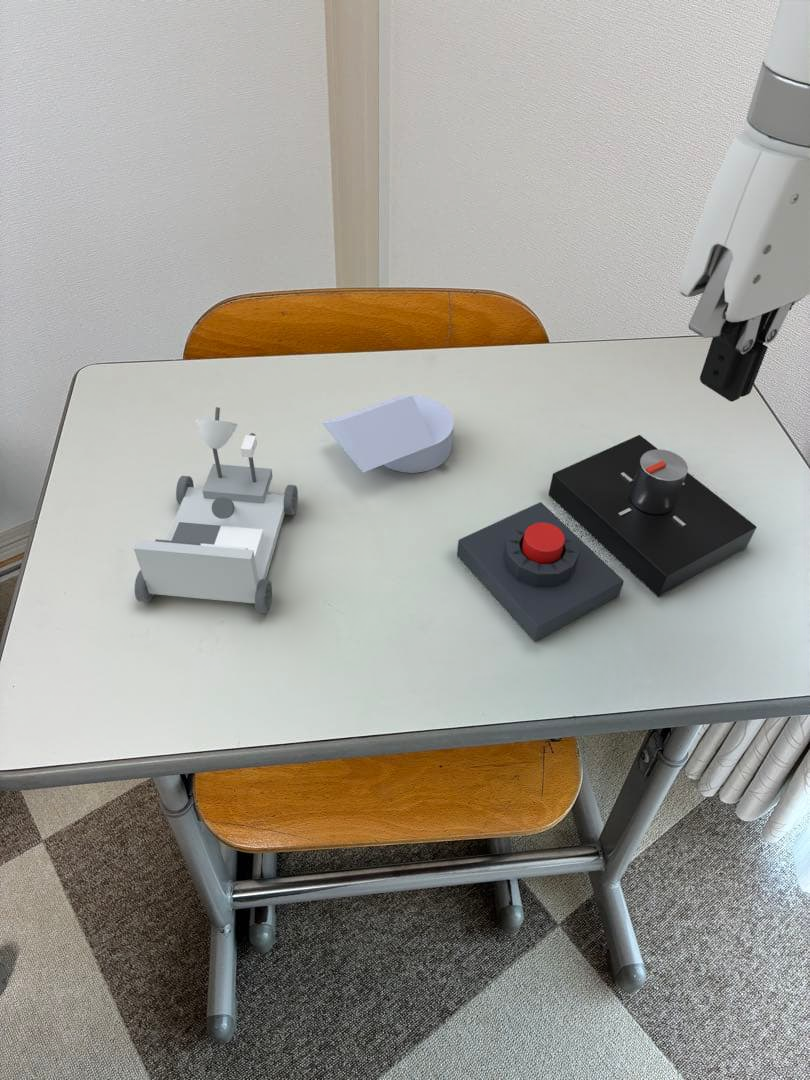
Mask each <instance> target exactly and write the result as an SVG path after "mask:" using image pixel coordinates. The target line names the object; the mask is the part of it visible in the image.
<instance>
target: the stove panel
mask: <svg viewBox="0 0 810 1080" xmlns="http://www.w3.org/2000/svg"><path fill="white" fill-rule="evenodd" d="M657 449H658V448H657V447H656V446H655V445H653V444H652V443H651V442H650V441H648V440H647V439H646V438H645V437H643V436H642V435H641V434H638V435H636V436H633V437H631V438H629V439H627V440H624V441H622V442H620V443H617V444H615V445H614V446H611V447H609V448H607V449H604V450H602V451H600V452H598V453H595V454H593V455H591V456H589V457H587V458H584V459H582V460H580V461H577V462H576V463H573V464H571V465H569V466H568V465H567V466H566V467H564V468H561V469H560V470H557V471H555V472H553V473H552V476H551V481H550V485H549V489H548V496H549V497H550V498H552V500H553V501H555V502H556V503H557V504H558V505H559V507H561V508H562V509H563V510H564V511H565V512H566V513H567V514H569V516H571V517H572V519H574V520H575V521H576V522H577V523H578V524H579V525H580V526H581V527H583V529H584V530H586V531H587V532H588V534H590V535H591V536H592V537H593V538H594V539H595V540H596V541H597V542H598V543H600V545H602V547H604V548H605V549H606V550H607V551H608V552H609V553H610V554H611V555H612V556H613V557H615V559H617V560H618V561H619V562H620V564H622V565H623V566H624V567H625V568H626V569H627V570H629V572H631V573H632V574H633V575H634V576H635V577H636V578H637V579H638V580H639V581H641V583H642V584H643V585H645V586H646V587H647V588H648V589H649V590H650V591H651V592H652V593H653V594H654V595H655V596H657V597H658V598H660V597H661V596H663V595H665V594H667V593H669V592H670V591H672V590H674V589H675V588H677V587H679V586H680V585H683V584H685V583H687V582H688V581H690V580H692V579H694V578H696V577H697V576H699V575H700V574H702V573H704V572H706V571H708V570H709V569H711V568H713V567H714V566H717V565H719V564H720V563H721V562H724V561H725V560H727V559H729V558H731V557H733V556H735V555H737V554H738V553H740V552H742V551H743V550H745V549H747V548H748V545H749V544H750V542H751V540H752V537H753V536H754V533H755V531H756V530H757V528H758V526H756V525H755V524H754V523H753V522H751V520H749V519H748V518H746V517H745V516H744V515H743V514H741V513H740V512H739V511H738V510H736V509H735V508H734V507H733V506H731V505H730V504H729V503H727V502H726V501H725V500H723V499H722V498H721V497H719V496H718V495H717V494H716V493H715V492H713V491H712V490H711V489H710V488H709V487H707V486H705V485H704V483H702V482H701V481H699V480H698V479H697V478H696V477H694V476H693V475H692V474H690V473H689V471H687V474H686V477H685V479H684V482H683V485H682V487H681V490H680V493H679V495H678V498H677V501H676V503H675V506H674V508H673V509H672V510H671V511H669V512H667V513H665V514H650V513H646V512H644V511H642V510H640V509H638V508H637V507H636V506H635V505H634V504H633V503H632V502H631V499H630V491H631V488H632V484H633V481H634V478H635V475H636V472H637V469H638V465H639V462H640V459H641V457H642V455H643V454H645V453H646V452H648V451H651V450H657Z"/></svg>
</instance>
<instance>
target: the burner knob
mask: <svg viewBox="0 0 810 1080" xmlns="http://www.w3.org/2000/svg"><path fill="white" fill-rule="evenodd" d="M688 470H689V469H688V463H687V462H686V460H685V459H684V458H683V457H682V456H680V455H679V454H677V453H675V452H673V451H670V450H667V449H659V448H657V450H651V451H648V452H646V453H645V454H643V455H642V457H641V459H640V462H639V465H638V469H637V472H636V475H635V478H634V481H633V484H632V488H631V491H630V499H631V502H632V503H633V504H634V505H635V506H636V507H637V508H638V509H640V510H642V511H644V512H646V513H650V514H665V513H667V512H669V511H671V510H672V509H673V508H674V506H675V503H676V501H677V498H678V495H679V493H680V490H681V487H682V485H683V482H684V479H685V477H686V474H687V472H689V471H688Z"/></svg>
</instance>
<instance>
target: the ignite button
mask: <svg viewBox="0 0 810 1080" xmlns="http://www.w3.org/2000/svg"><path fill="white" fill-rule="evenodd" d="M564 542H565V537H564V534H563V532H562V531H561V530H560V529H559V528H558V527H556V526H554V525H552V524H549V523H535V524H533V525H531V526H529V527H528V528H527V529H526V531H525V534H524V539H523V545H522V550H523V553H524V554H525V556H526V557H527V558H528V559H529V560H531V561H533V562H536V563H539V564H550V563H553V562H555V561H557V560H558V559H559V558H560V556H561V554H562V550H563V546H564Z"/></svg>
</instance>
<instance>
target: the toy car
mask: <svg viewBox="0 0 810 1080" xmlns="http://www.w3.org/2000/svg"><path fill="white" fill-rule="evenodd" d="M220 413H221V407H219V406H218V407H215V413H214V419H208V418H207V419H205V418H204V419H203V418H200V419H197V418H196V419H195V424H196V427H197V429H198V431H199V434H200V436H201V438H202V440H203V442H204V443H205V445H207V446H208V447H209V448H210V449H212V453H213V458H214V463H212V465H211V468H210V471H209V473H208V476H207V478H206V481H205V483H204V485H203V487H195V486H194V480H193V477H191V476H190V475H181V476H180V477H179V478H178V480H177V483H176V488H175V497H176V503H177V504H178V505H179V507H178V509H177V512H176V515H175V517H174V520H173V522H172V524H171V527H170V529H169V532H168V533H167V536H166V539H155V540H145V539H144V540H142V539H137V540H136V542H135V545H134V547H133V551H134V553H135V557H136V560H137V562H138V566H139V568H140V570H139V571H138V573H137V575H136V576H135V580H134V581H135V582H134V597H135V600H137V601H138V603H139V602H140V603H150V602H151V601H152V599H153V597H154V595H158V596H160V595H161V596H170V597H182V598H191V599H193V598H194V599H203V600H214V601H225V602H234V603H235V602H236V603H245V604H254V609H255V612H256V613H257V614H267V613H268V612H269V610H270V607H271V602H272V595H273V594H272V593H273V587H272V581H271V580H270V579H267V577H268V573H269V571H270V566H271V563H272V559H273V557H274V556H273V555H274V552H275V548H276V545H277V542H278V539H279V535H280V531H281V528H282V524H283V521H284V517H285V516H286V515H287V516H294V515H295V514H296V512H297V508H298V503H299V502H298V501H299V491H298V486H297V485H296V484H287V486H286V487H285V488H284V494H277V493H276V494H275V493H268V492H269V489H270V486H271V483H272V480H273V468H268V467H266V468H265V467H255V461H254V454H255V451H256V448H257V445H258V441H257V435H256V433H254V432H251V433H249V434H245V435H244V438H243V441H242V444H241V446H240V455H241V457H242V458H248V462H249V466H243V465H230V464H221V463H220V459H219V453H218V450H219V449H222V448H223V447H224V446H226V444H227V443H228V442H229V440H230V439H231V438H232V436H233V435H234V433H235V431H236V429H237V428H238V425H239V424H238V423H235V422H231V421H225V420H220Z"/></svg>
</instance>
